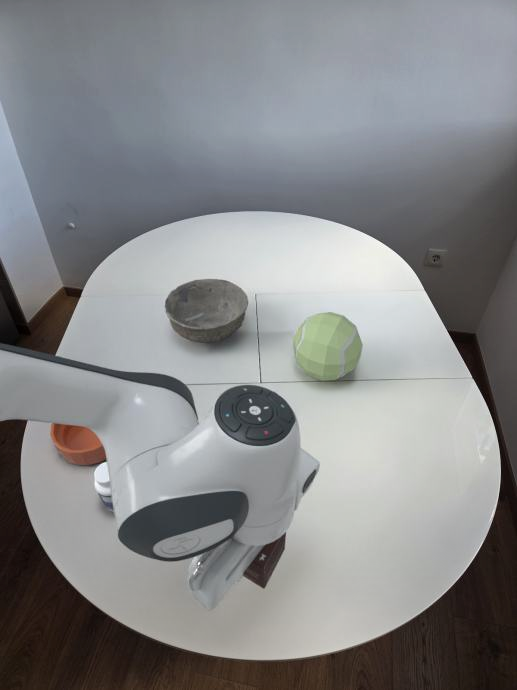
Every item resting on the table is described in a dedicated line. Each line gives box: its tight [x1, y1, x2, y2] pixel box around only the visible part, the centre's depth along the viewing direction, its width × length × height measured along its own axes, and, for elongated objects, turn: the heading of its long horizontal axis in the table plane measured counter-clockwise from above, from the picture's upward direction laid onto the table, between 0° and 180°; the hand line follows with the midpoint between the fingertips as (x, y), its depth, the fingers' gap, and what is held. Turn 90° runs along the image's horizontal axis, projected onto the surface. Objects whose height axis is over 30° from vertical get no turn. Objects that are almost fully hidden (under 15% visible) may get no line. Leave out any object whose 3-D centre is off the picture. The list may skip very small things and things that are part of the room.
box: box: [243, 531, 287, 589], centre depth 56 cm, size 6×6×7 cm
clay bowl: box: [49, 423, 106, 466], centre depth 88 cm, size 14×14×5 cm
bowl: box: [164, 278, 249, 344], centre depth 110 cm, size 21×21×10 cm
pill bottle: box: [93, 461, 114, 513], centre depth 76 cm, size 5×5×10 cm
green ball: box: [292, 311, 364, 382], centre depth 98 cm, size 15×15×15 cm
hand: (255, 549), depth 57 cm, fingers closed on box, 6 cm apart
